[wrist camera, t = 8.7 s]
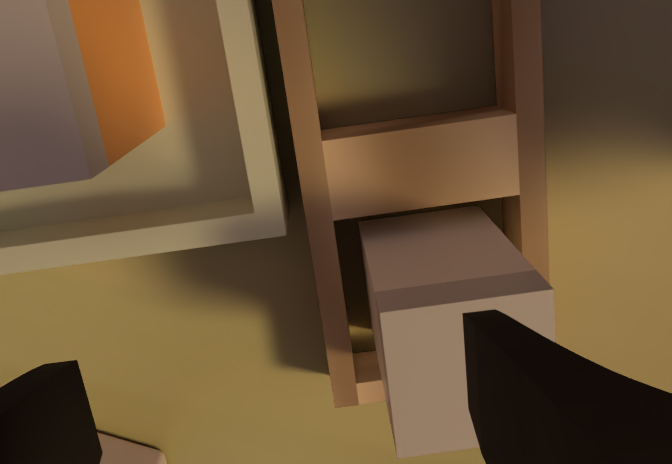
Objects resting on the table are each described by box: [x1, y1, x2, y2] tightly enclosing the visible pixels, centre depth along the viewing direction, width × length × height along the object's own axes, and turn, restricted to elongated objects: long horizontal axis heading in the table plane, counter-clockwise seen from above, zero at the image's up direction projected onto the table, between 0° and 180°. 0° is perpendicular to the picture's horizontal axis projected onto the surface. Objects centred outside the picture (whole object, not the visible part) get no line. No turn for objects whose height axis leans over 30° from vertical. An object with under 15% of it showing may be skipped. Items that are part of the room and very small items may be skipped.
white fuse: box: [358, 206, 555, 458], centre depth 19 cm, size 4×4×7 cm
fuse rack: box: [272, 0, 549, 408], centre depth 18 cm, size 7×23×2 cm, turn 8°
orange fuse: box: [0, 0, 166, 192], centre depth 16 cm, size 4×4×7 cm
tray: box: [0, 0, 289, 275], centre depth 18 cm, size 11×11×2 cm
